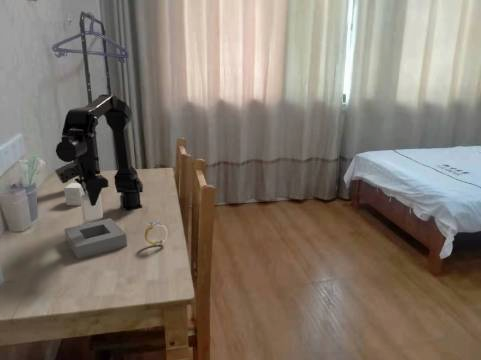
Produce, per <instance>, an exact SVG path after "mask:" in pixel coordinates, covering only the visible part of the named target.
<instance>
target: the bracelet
mask: <svg viewBox="0 0 481 360" xmlns="http://www.w3.org/2000/svg"><path fill="white" fill-rule="evenodd" d="M156 227H160V228H162V229H163V230H164V232H165V233H164V237H163V238H162V240H160V241H158V240H157V241H152V240H150V239H149V238H148V233H149V232H150V231H152V230H153V229H154V228H156ZM168 231H169V230H168V228H167V226H166V225H165V224H163V223H161V221H157V220H152V222H149V224H147V225H146V227H145V229H144V239H145V241H146V242H147V243H148V244H149V245H153V246H157V247H158V246H159V245H161V244H163V243H165V242H166V240H167V239H168V236H169V232H168Z"/></svg>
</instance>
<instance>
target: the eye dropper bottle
mask: <svg viewBox="0 0 481 360" xmlns="http://www.w3.org/2000/svg"><path fill="white" fill-rule="evenodd" d="M102 204H103V203H102V196H101V193H100V194H99V197H98V199H97V202H96V205H94V206H92V205H91V203H90V200H89V197H88V193H87V191H86V194H84V195H82V196H81V205H80V206H81V213H82V220H83V221H84V222H88V223H89V222H96V221H99V220H102V218H104V213H103V205H102Z"/></svg>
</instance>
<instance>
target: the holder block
mask: <svg viewBox="0 0 481 360" xmlns="http://www.w3.org/2000/svg"><path fill="white" fill-rule="evenodd" d="M64 236H65V241H66V243H67V244H68V246H69V247H70V249H71V251H72V252H73V254H74V255H75V257H76V259H77V260H81V259H84V258H85V259H86V258H88V257H92V256H95V255H99V254H103V253H106V252H109V251H113V250H117V249H120V248H124V247H127V246H128V241H127V234H126V232H125V231H124V230H123V229H122V228H121V227H120V226H119V225H118V224H117V223H116V222H115V221H114V220H113V219H112V218H111V217H110V218H105V219H100V220H95V221H91V222H88V223H84V224H80V225H75V226H71V227H66V228H64Z"/></svg>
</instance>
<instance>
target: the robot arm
mask: <svg viewBox="0 0 481 360" xmlns="http://www.w3.org/2000/svg"><path fill="white" fill-rule="evenodd" d="M102 116H103V117H105V122H106V124H107V125H108V126H109V128H110V129H111V130H112V133H113V134H112V136H113V140H114V146H115V147H114V148H115V154H116V160H117V162H116V163H117V167H118V168H117V171H116V173H115V174H114V177H113V178H114V186H115V189H116V193H118V194H120V196H119V199H120V200H119V202H120V207H122V208H123V209H124V211H129V210H135V209H139V208H143V205H142V204H141V194H140V193H143V192H144V184H143V182H142V181H141V179H140V178H139V174H138V172H137V170H136V169H135V168H134V167H133V165H132V157H131V150H130V143H129V135H128V127H129V124H130V123H131V117H132V109H131V108H130V106H129V105H128V104H127V102H125V101H123V100H121V99H119V98H118V97H117V96H116V95H115V94H111V93H108V94H100V95H98V97H97V98H96V99H94V100H93V101H91V102H90V103H88V104H87V105H85V106H83V107H76V108H71V109H69V110H68V111H67V113H66V115H65V120H64V123H63V128H62V132H61V135H62V136H61V141H59V142H58V143H57V145H56V148H55V154H56V156H57V157H58V159H59V160H60V161H62V162H65V163H67V164H64V165H63V166H61V167H59V168H56V169H55V170H54V172H55V174H56V176H57V177H58V179H59V181H60V182H61V183H62V184H66V183H68V182H69V181H71V180H72V179H73V178H75V177H76V176H77V178H76V179H74V180H75V181H76V182H77V183H79V184H80V185H81V187H82V188H83V191H84V193H85V194H86V191H87V193H88V197H89V200H90V203H91V205H92V206H94V205H96V202H97V199H98V197H99V194H100V195H101V191H102V189H105V188H109V187H110V186H109V185H110V183H109V179H107V178H106V177H105V176H103V175H102V174H101V170H100V169H99V166H98V161H99V156H98V155H97V148H96V140H95V136H96V135H98V134H97V131H95V130H96V127H97V126H98V125H99V119H100V118H101V117H102ZM71 161H73V162H72V163H70V162H71Z"/></svg>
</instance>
